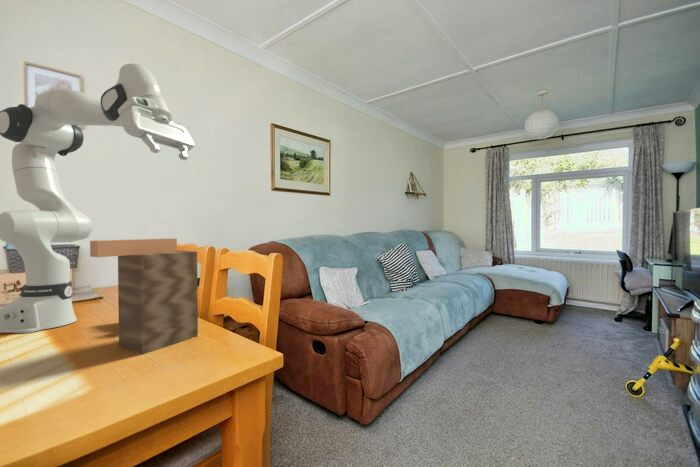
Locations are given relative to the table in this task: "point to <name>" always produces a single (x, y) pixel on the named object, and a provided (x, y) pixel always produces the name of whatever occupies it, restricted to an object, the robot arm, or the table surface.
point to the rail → (131, 247)
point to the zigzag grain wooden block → (157, 300)
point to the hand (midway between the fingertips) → (171, 155)
